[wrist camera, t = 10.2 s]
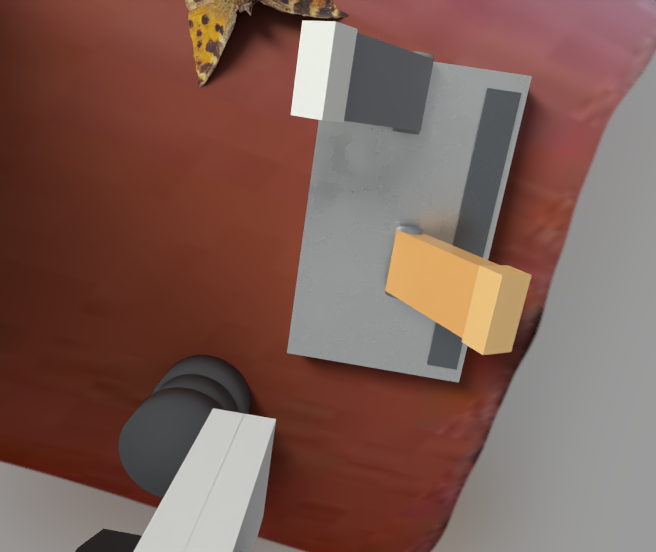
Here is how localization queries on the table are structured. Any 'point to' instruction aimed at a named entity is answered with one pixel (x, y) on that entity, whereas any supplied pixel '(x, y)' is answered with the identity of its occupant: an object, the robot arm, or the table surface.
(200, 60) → the butterfly model
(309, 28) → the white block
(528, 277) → the paddle orange
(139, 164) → the table surface
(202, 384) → the grey stacked discs
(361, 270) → the panel
